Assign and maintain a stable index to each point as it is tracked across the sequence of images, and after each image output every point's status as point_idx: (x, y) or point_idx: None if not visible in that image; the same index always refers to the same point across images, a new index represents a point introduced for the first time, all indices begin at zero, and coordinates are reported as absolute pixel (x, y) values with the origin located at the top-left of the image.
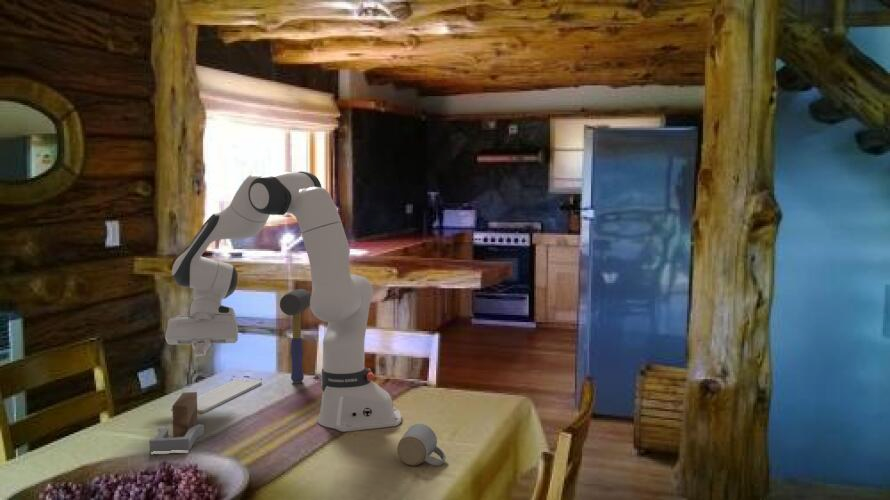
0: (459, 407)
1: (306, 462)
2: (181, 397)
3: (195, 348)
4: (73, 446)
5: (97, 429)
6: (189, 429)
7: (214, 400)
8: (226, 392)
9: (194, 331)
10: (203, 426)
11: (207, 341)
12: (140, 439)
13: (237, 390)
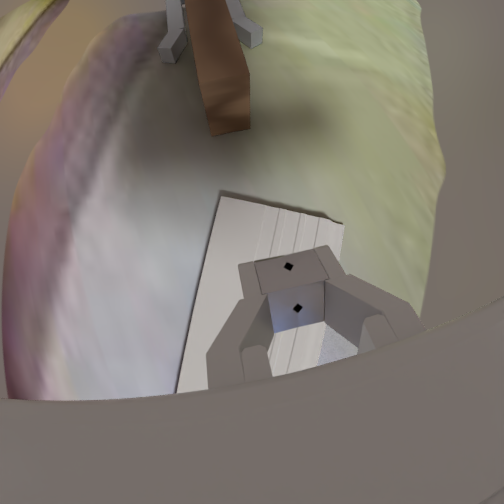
0: None
1: (16, 39)
2: (229, 36)
3: (336, 273)
4: (387, 20)
5: (419, 85)
6: (182, 25)
7: (224, 313)
8: None
9: (469, 412)
10: (158, 49)
11: (233, 362)
12: (291, 32)
13: None
